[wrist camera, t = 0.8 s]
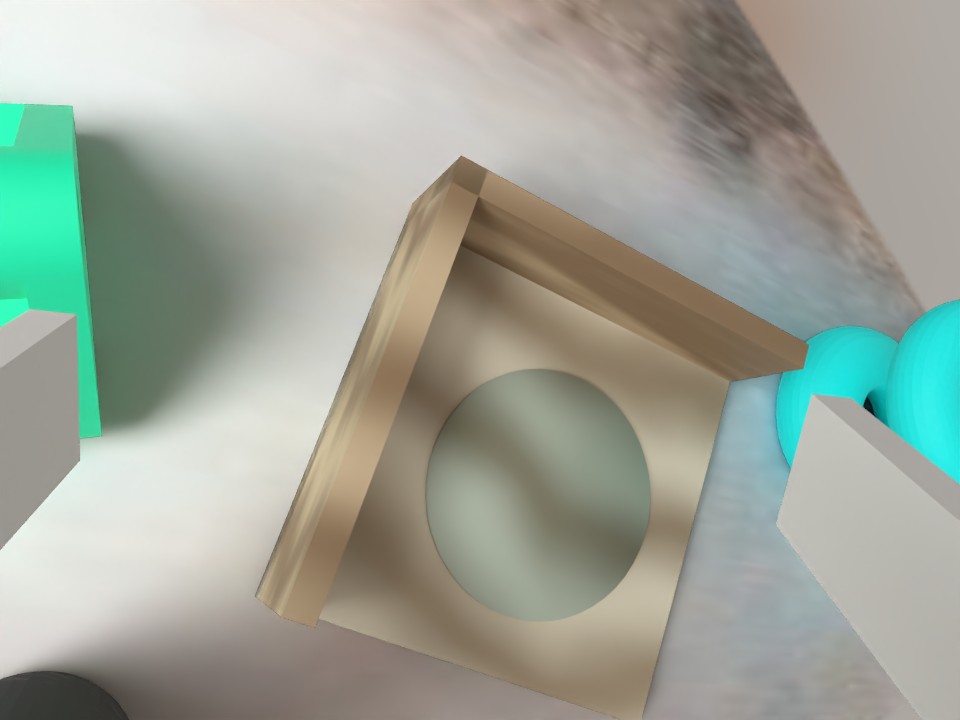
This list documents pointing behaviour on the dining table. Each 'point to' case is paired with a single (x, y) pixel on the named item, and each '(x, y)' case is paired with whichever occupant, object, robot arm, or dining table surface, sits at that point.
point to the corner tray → (518, 448)
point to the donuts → (886, 383)
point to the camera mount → (46, 233)
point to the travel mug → (55, 698)
